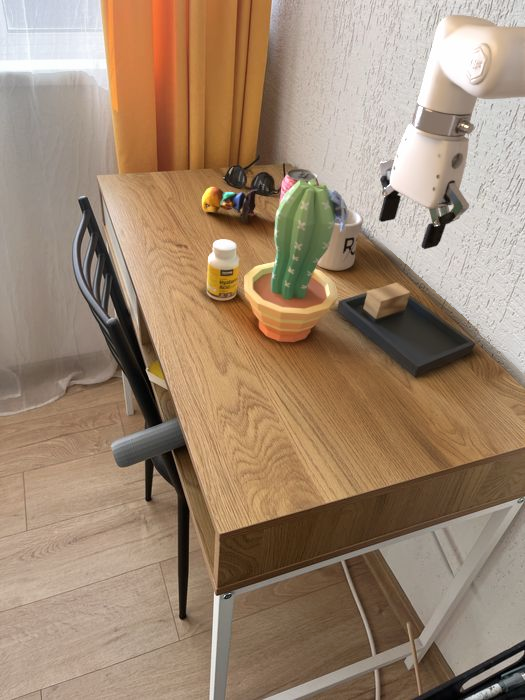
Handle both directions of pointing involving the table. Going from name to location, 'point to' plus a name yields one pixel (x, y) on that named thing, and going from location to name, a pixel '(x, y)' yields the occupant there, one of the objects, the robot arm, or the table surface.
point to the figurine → (229, 202)
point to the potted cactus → (297, 264)
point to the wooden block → (386, 302)
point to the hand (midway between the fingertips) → (407, 232)
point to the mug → (342, 243)
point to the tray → (410, 335)
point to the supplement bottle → (222, 270)
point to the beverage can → (296, 179)
